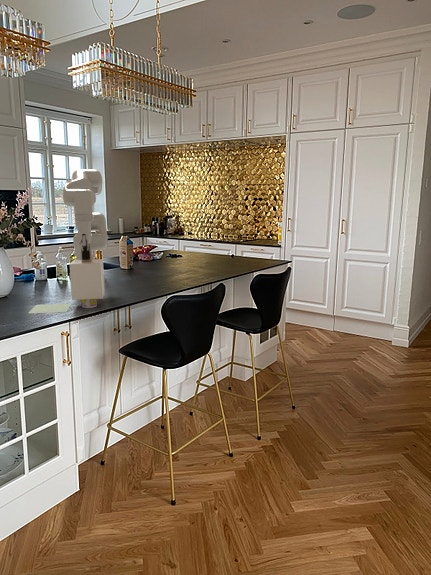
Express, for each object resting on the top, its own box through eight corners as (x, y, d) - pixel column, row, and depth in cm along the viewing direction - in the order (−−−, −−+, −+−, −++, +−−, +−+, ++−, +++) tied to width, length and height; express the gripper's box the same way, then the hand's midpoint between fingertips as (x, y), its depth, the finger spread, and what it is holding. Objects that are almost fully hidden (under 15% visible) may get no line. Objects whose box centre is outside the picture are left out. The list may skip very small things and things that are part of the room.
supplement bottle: (98, 305, 207) (97, 278, 205) (95, 308, 201) (93, 281, 198) (84, 305, 207) (82, 278, 204) (80, 308, 200) (78, 281, 198)
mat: (36, 305, 206) (36, 304, 206) (71, 304, 209) (71, 303, 209) (27, 314, 191) (27, 313, 191) (66, 312, 194) (66, 311, 193)
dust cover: (76, 293, 208) (73, 247, 203) (104, 292, 210) (102, 246, 206) (71, 299, 195) (68, 250, 191) (102, 298, 197) (99, 249, 193)
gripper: (78, 217, 203) (80, 256, 207) (72, 218, 187) (75, 261, 190) (94, 217, 204) (97, 256, 208) (90, 218, 188) (93, 261, 192)
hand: (86, 258), depth 199 cm, fingers closed on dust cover, 4 cm apart
